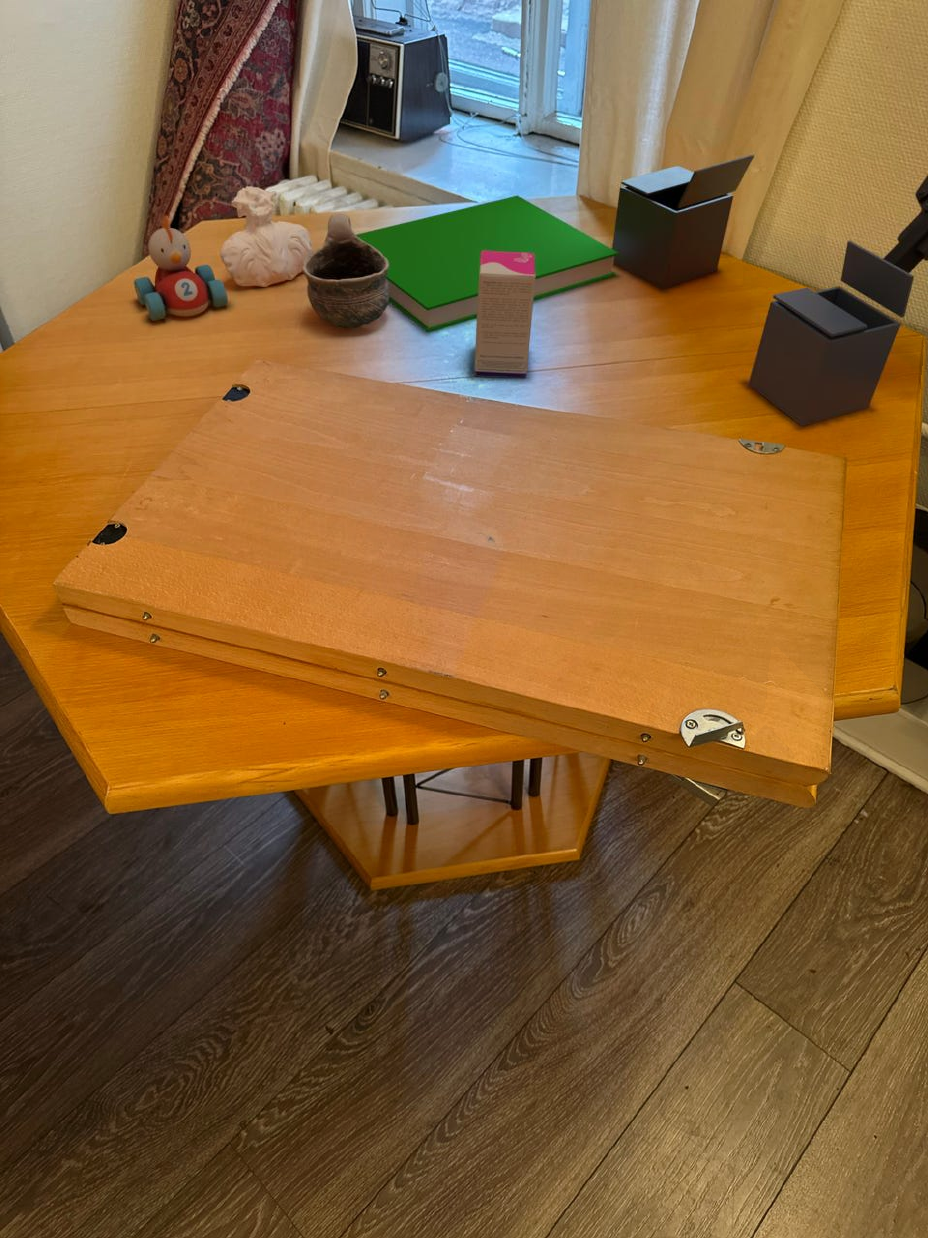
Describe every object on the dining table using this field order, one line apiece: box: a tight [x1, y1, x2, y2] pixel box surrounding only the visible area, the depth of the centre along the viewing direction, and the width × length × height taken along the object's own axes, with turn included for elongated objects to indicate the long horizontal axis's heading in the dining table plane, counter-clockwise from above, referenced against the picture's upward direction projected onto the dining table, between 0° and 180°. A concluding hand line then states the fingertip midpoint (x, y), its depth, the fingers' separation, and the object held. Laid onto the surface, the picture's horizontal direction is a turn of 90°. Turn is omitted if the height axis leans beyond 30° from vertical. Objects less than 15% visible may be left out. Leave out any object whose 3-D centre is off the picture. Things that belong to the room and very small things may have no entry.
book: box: [355, 195, 618, 333], centre depth 114 cm, size 22×28×3 cm
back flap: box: [677, 154, 755, 208], centre depth 104 cm, size 5×10×1 cm
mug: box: [302, 213, 389, 329], centre depth 102 cm, size 10×12×10 cm
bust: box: [219, 185, 313, 288], centre depth 110 cm, size 12×8×11 cm
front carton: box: [747, 285, 902, 427], centre depth 91 cm, size 9×9×10 cm
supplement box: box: [473, 250, 535, 379], centre depth 94 cm, size 6×6×12 cm
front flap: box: [840, 240, 915, 318], centre depth 87 cm, size 4×9×1 cm
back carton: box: [611, 165, 734, 291], centre depth 113 cm, size 10×10×10 cm
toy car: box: [133, 215, 229, 322], centre depth 104 cm, size 9×9×10 cm
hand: (884, 277), depth 88 cm, fingers closed
